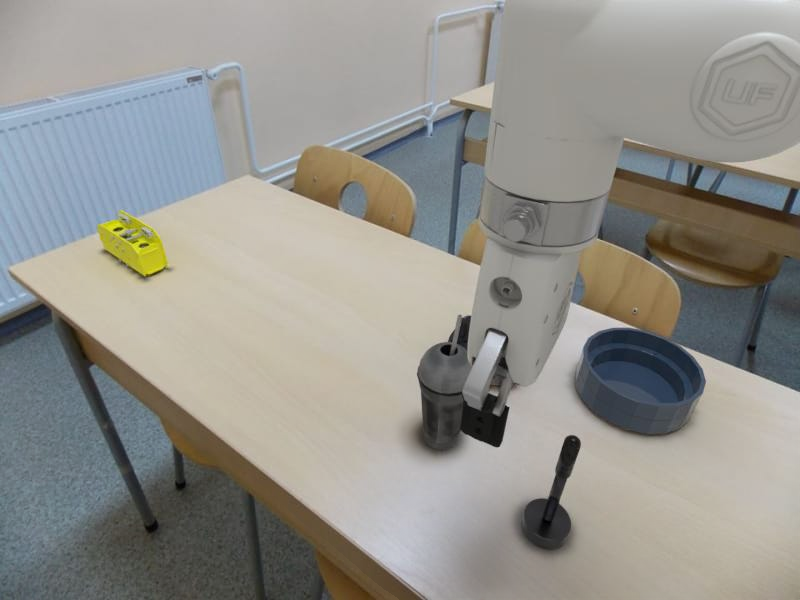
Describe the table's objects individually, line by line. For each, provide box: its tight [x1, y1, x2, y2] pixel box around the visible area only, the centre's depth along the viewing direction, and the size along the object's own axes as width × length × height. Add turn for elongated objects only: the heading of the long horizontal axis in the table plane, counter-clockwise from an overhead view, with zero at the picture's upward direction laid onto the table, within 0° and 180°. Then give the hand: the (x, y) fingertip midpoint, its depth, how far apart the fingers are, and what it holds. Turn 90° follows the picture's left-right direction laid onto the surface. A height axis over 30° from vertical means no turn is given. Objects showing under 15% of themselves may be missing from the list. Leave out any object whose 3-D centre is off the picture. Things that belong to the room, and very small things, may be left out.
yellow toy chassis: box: [96, 209, 170, 277], centre depth 102 cm, size 16×6×8 cm, turn 51°
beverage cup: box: [416, 314, 472, 451], centre depth 64 cm, size 7×7×20 cm
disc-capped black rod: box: [521, 434, 582, 550], centre depth 55 cm, size 5×5×16 cm
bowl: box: [574, 327, 707, 435], centre depth 75 cm, size 16×16×6 cm
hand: (503, 396), depth 42 cm, fingers open, 9 cm apart
